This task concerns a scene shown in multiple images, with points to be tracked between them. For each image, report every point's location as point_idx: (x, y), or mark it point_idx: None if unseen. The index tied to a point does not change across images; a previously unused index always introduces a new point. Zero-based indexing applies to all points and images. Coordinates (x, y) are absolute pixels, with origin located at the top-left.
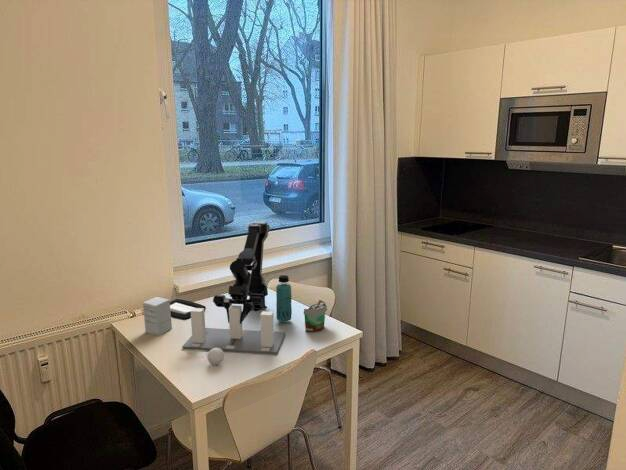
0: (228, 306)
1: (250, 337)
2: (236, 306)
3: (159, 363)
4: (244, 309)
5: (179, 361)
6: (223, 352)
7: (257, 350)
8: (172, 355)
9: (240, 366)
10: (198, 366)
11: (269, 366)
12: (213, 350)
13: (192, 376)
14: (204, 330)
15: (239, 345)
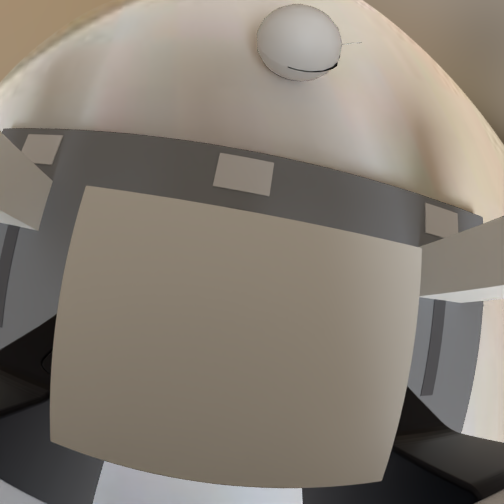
0: (425, 447)
1: None
2: (200, 416)
3: (483, 125)
4: (25, 369)
5: (439, 118)
6: (263, 31)
7: (78, 136)
8: (479, 170)
9: (175, 44)
10: (357, 65)
11: (61, 55)
12: (314, 8)
13: (349, 23)
14: (461, 271)
15: (183, 196)
